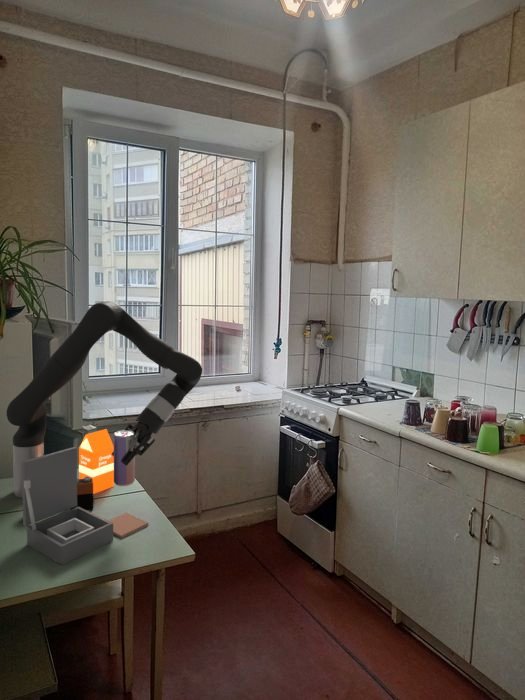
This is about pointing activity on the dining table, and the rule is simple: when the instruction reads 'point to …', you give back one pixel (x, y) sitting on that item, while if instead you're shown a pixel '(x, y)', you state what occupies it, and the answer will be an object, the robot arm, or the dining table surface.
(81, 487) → the battery
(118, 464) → the beverage can
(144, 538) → the dining table surface
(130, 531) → the mat
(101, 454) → the orange juice
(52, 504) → the equipment case
